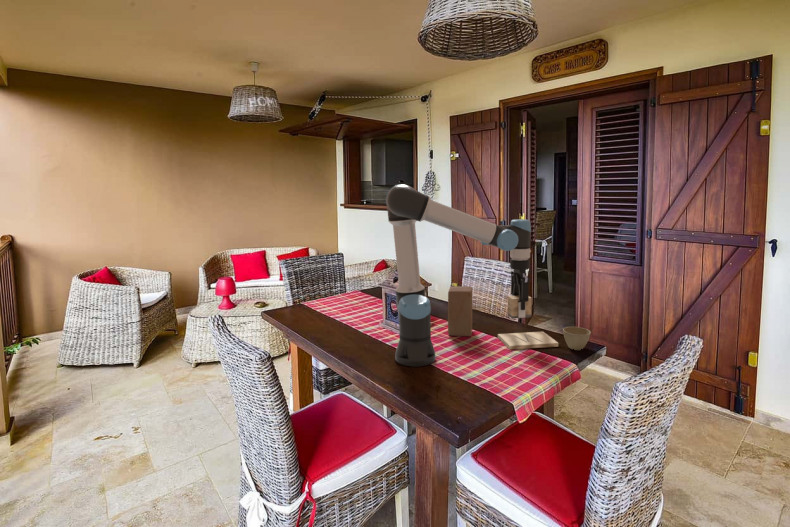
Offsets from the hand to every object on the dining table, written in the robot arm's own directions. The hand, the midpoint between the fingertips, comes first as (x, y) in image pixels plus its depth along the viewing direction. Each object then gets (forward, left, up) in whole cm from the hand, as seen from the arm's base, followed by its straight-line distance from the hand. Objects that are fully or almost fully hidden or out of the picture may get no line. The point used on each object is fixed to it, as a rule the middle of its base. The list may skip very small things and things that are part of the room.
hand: (518, 315), depth 180 cm
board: (+4, 0, -12) cm, 12 cm away
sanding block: (0, 0, 0) cm, 0 cm away
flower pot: (+20, -9, -12) cm, 25 cm away
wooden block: (-20, +16, -12) cm, 28 cm away
